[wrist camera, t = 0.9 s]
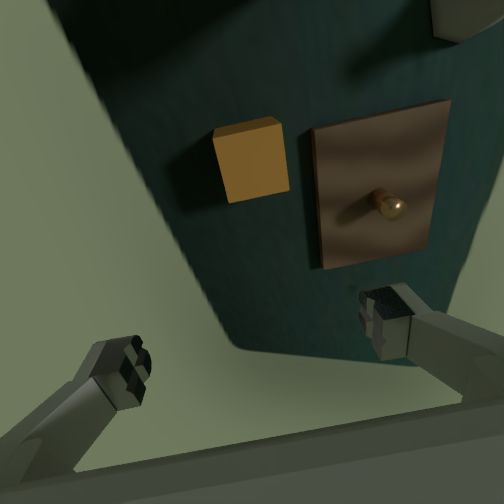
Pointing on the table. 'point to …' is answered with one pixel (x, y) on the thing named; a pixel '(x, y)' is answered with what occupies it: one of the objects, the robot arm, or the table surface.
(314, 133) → the walnut post base
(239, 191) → the mustard brick
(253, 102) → the table surface
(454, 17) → the flask
